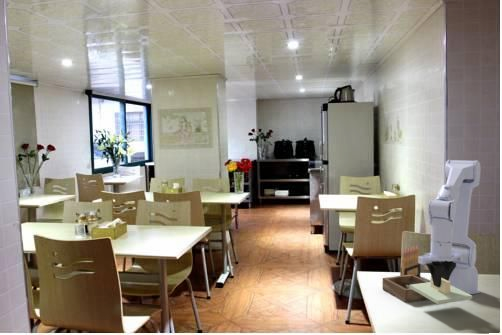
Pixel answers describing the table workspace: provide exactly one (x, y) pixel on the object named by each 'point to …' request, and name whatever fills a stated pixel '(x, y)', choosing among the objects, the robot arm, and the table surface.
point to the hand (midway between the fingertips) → (440, 285)
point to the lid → (441, 292)
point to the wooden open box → (403, 287)
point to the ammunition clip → (410, 262)
